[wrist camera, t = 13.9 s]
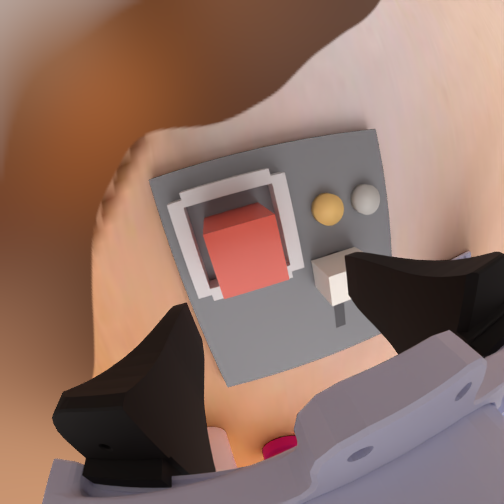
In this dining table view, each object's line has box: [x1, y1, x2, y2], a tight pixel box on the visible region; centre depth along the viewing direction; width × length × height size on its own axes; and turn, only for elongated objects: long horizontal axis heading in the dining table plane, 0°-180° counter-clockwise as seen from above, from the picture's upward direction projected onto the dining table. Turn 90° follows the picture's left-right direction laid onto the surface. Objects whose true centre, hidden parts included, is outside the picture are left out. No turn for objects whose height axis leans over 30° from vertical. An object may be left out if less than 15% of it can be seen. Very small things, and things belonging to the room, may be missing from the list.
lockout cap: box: [203, 202, 289, 299], centre depth 18 cm, size 4×4×5 cm
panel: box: [149, 129, 392, 387], centre depth 21 cm, size 18×20×3 cm
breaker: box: [311, 247, 363, 306], centre depth 20 cm, size 4×2×3 cm, turn 104°
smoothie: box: [207, 427, 237, 472], centre depth 22 cm, size 6×6×14 cm
